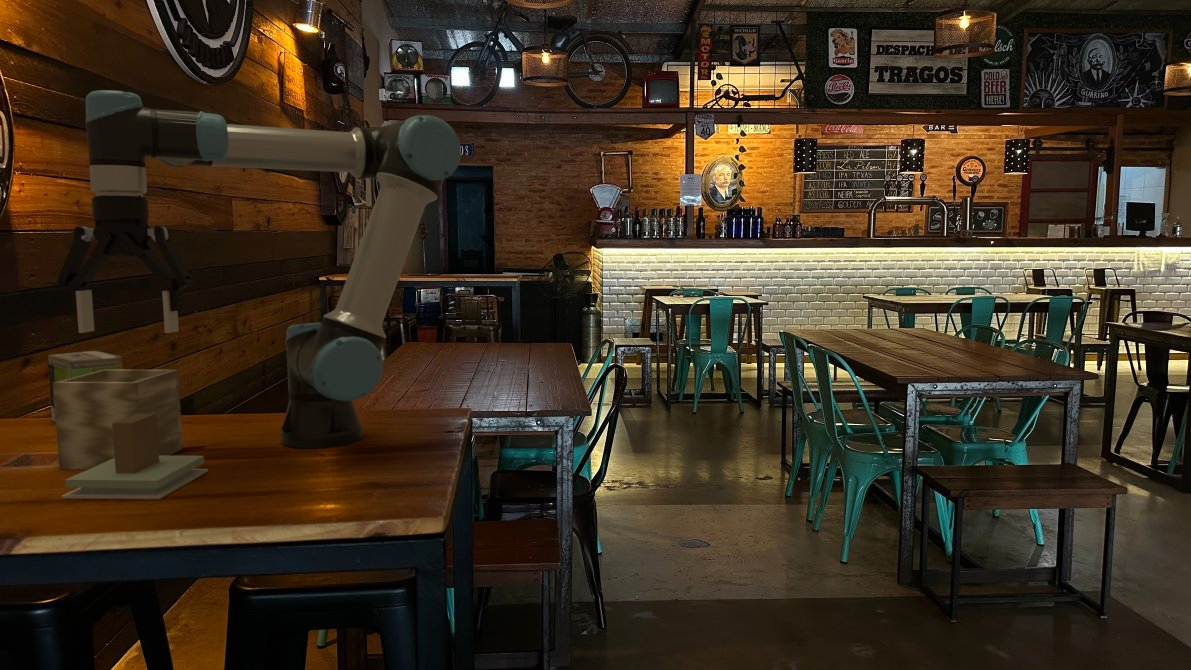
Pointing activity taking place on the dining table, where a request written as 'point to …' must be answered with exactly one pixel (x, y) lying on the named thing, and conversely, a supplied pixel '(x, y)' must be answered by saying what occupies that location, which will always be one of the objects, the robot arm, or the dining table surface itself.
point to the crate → (113, 412)
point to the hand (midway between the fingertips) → (129, 332)
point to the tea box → (78, 367)
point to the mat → (156, 495)
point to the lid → (135, 461)
